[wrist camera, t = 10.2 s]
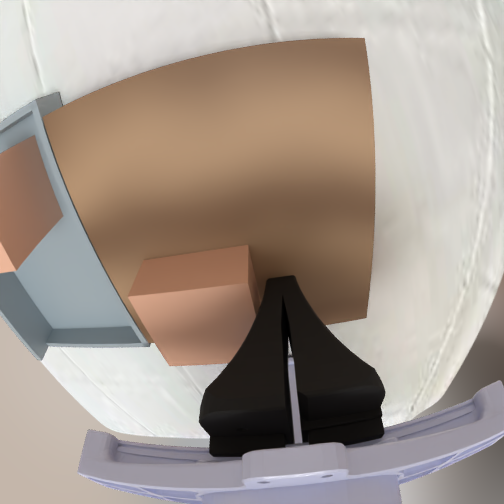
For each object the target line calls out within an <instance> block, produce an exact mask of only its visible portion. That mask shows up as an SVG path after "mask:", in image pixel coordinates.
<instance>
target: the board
mask: <svg viewBox="0 0 504 504" xmlns="http://www.w3.org/2000/svg"><path fill="white" fill-rule="evenodd" d="M42 118H43V121H44V124H45V128H46V131H47V134H48V137H49V140H50V143H51V146H52V149H53V152H54V154H55V157H56V160H57V163H58V165H59V168H60V171H61V173H62V176H63V179H64V181H65V184H66V186H67V189H68V191H69V193H70V196H71V198H72V201H73V203H74V205H75V208H76V210H77V212H78V214H79V217H80V219H81V221H82V223H83V225H84V228H85V230H86V232H87V234H88V236H89V238H90V240H91V242H92V244H93V246H94V248H95V250H96V252H97V254H98V256H99V258H100V260H101V262H102V264H103V266H104V268H105V270H106V272H107V273H108V275H109V277H110V279H111V281H112V283H113V284H114V286H115V288H116V290H117V292H118V293H119V295H120V297H121V299H122V300H123V302H124V304H125V306H126V307H127V309H128V311H129V312H130V314H131V316H132V317H133V319H134V321H135V322H136V324H137V325H138V327H139V329H140V330H141V332H142V333H143V335H144V336H145V338H146V340H147V341H148V343H154V341H153V339H152V338H151V336H150V335H149V333H148V331H147V330H146V328H145V326H144V325H143V323H142V321H141V319H140V318H139V316H138V314H137V313H136V311H135V309H134V307H133V306H132V304H131V302H130V300H129V298H128V294H129V292H130V290H131V287H132V285H133V283H134V280H135V278H136V276H137V273H138V271H139V269H140V267H141V264H142V262H143V260H148V259H155V258H161V257H168V256H175V255H181V254H188V253H195V252H202V251H208V250H215V249H222V248H229V247H236V246H242V245H249V250H250V255H251V259H252V264H253V269H254V273H255V278H256V283H257V287H258V292H259V297H260V301H261V302H262V298H263V295H264V291H265V286H266V280H267V279H268V278H276V277H283V276H290V275H294V276H295V277H296V280H297V282H298V285H299V287H300V289H301V291H302V293H303V295H304V296H305V298H306V300H307V301H308V303H309V304H310V306H311V307H312V309H313V310H314V312H315V313H316V315H317V316H318V317H319V319H320V320H321V321H322V322H323V324H324V325H329V324H335V323H341V322H347V321H352V320H358V319H363V318H366V316H367V308H368V299H369V290H370V280H371V269H372V256H373V241H374V220H375V142H374V122H373V107H372V95H371V84H370V75H369V66H368V58H367V51H366V44H365V38H327V39H309V40H296V41H286V42H277V43H269V44H262V45H255V46H249V47H243V48H237V49H232V50H226V51H222V52H217V53H212V54H208V55H203V56H199V57H195V58H191V59H187V60H184V61H180V62H176V63H173V64H169V65H166V66H163V67H159V68H156V69H153V70H150V71H147V72H144V73H141V74H138V75H135V76H133V77H130V78H127V79H124V80H122V81H119V82H116V83H114V84H111V85H109V86H106V87H104V88H102V89H99V90H97V91H95V92H92V93H90V94H88V95H86V96H83V97H81V98H79V99H77V100H75V101H73V102H71V103H68V104H66V105H64V106H62V107H60V108H58V109H57V110H55V111H53V112H51V113H49V114H47V115H45V116H43V117H42Z"/></svg>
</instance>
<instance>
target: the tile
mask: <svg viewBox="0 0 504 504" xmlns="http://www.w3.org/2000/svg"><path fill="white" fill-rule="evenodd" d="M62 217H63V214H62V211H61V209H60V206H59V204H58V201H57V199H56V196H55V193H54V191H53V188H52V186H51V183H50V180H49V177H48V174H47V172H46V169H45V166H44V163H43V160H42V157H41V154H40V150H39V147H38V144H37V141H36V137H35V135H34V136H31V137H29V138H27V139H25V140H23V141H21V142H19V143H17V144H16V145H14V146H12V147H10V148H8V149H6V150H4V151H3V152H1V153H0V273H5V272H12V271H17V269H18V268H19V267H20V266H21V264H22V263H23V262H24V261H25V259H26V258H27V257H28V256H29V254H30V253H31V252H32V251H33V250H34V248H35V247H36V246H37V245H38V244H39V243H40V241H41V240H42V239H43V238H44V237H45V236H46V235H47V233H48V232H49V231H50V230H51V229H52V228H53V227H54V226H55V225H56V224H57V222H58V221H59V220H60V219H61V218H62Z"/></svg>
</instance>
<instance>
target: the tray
mask: <svg viewBox="0 0 504 504" xmlns="http://www.w3.org/2000/svg"><path fill="white" fill-rule="evenodd" d="M60 107H62V102H61V98H60V95H59V92H58V93H55V94H51V95H48V96H45V97H41V98H38V99H35V100H34V101H32V102H30V103H29V104H27V105H26V106H24V107H23V108H21V109H19V110H18V111H16V112H15V113H13V114H12V115H10V116H9V117H8V118H6V119H5V120H3V121H2V122H0V153H1V152H3V151H4V150H6V149H8V148H10V147H12V146H14V145H16V144H17V143H19V142H21V141H23V140H25V139H27V138H29V137H31V136H34V135H35V137H36V141H37V144H38V147H39V150H40V154H41V157H42V160H43V163H44V166H45V169H46V172H47V174H48V177H49V180H50V183H51V186H52V188H53V191H54V193H55V196H56V199H57V201H58V204H59V206H60V209H61V211H62V214H63V217H62V218H61V219H60V220H59V221H58V222H57V224H56V225H55V226H54V227H53V228H52V229H51V230H50V231H49V232H48V233H47V235H46V236H45V237H44V238H43V239H42V240H41V241H40V243H39V244H38V245H37V246H36V247H35V248H34V250H33V251H32V252H31V253H30V254H29V256H28V257H27V258H26V259H25V261H24V262H23V263H22V264H21V266H20V267H19V268H18V269H17V271H12V272H5V273H0V315H1V316H2V318H3V319H4V321H5V322H6V323H7V324H8V326H9V327H10V328H11V330H12V331H13V332H14V333H15V335H16V336H17V337H18V338H19V339H20V341H21V342H22V343H23V344H24V345H25V347H27V349H28V350H29V351H30V352H31V353H32V355H33V356H34V357H35V358H36V359H37V360H42V359H43V357H44V355H45V353H46V351H47V349H48V346H53V347H93V348H114V347H150V344H151V343H148V341H147V340H146V338H145V336H144V335H143V333H142V332H141V330H140V329H139V327H138V325H137V324H136V322H135V321H134V319H133V317H132V316H131V314H130V312H129V311H128V309H127V307H126V306H125V304H124V302H123V300H122V299H121V297H120V295H119V293H118V292H117V290H116V288H115V286H114V284H113V283H112V281H111V279H110V277H109V275H108V273H107V272H106V270H105V268H104V266H103V264H102V262H101V260H100V258H99V256H98V254H97V252H96V250H95V248H94V246H93V244H92V242H91V240H90V238H89V236H88V234H87V232H86V230H85V228H84V225H83V223H82V221H81V219H80V217H79V214H78V212H77V210H76V208H75V205H74V203H73V201H72V198H71V196H70V193H69V191H68V189H67V186H66V184H65V181H64V179H63V176H62V173H61V171H60V168H59V165H58V163H57V160H56V157H55V154H54V152H53V149H52V146H51V143H50V140H49V137H48V134H47V131H46V128H45V124H44V121H43V118H42V117H43V116H45V115H47V114H49V113H51V112H53V111H55V110H57V109H58V108H60Z"/></svg>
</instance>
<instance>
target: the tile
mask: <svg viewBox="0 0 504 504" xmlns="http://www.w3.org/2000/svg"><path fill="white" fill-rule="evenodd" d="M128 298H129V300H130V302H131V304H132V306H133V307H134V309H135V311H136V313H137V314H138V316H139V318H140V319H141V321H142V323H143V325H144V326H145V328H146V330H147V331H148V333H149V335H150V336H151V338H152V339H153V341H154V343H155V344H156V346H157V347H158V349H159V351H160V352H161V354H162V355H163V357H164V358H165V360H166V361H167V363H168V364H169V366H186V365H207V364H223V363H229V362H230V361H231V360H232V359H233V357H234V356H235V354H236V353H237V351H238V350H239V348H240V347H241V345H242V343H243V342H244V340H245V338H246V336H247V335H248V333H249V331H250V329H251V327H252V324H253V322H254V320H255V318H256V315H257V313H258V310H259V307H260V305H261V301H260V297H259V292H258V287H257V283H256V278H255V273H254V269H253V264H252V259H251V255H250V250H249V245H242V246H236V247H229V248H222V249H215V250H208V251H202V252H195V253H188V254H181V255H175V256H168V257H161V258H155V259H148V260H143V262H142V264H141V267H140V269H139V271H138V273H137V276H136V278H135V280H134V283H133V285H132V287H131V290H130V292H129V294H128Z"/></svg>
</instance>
